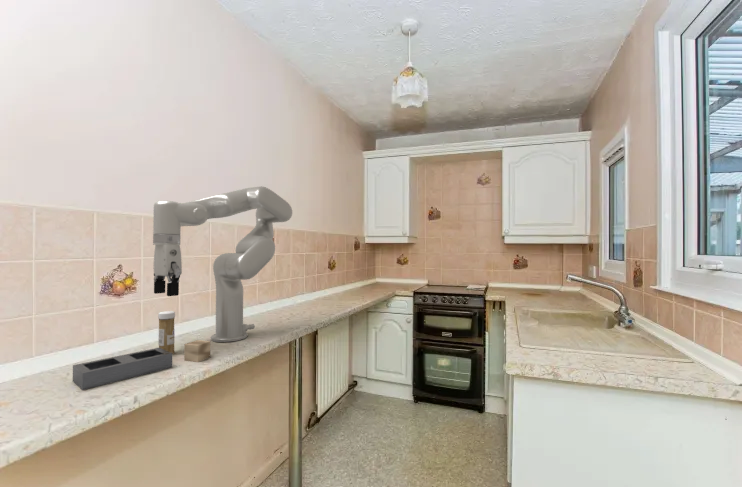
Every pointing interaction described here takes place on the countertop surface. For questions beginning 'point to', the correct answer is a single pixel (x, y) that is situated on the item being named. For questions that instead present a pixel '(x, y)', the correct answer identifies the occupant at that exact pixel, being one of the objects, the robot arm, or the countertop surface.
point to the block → (197, 351)
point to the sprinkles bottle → (166, 330)
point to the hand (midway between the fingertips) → (166, 294)
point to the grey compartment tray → (120, 367)
